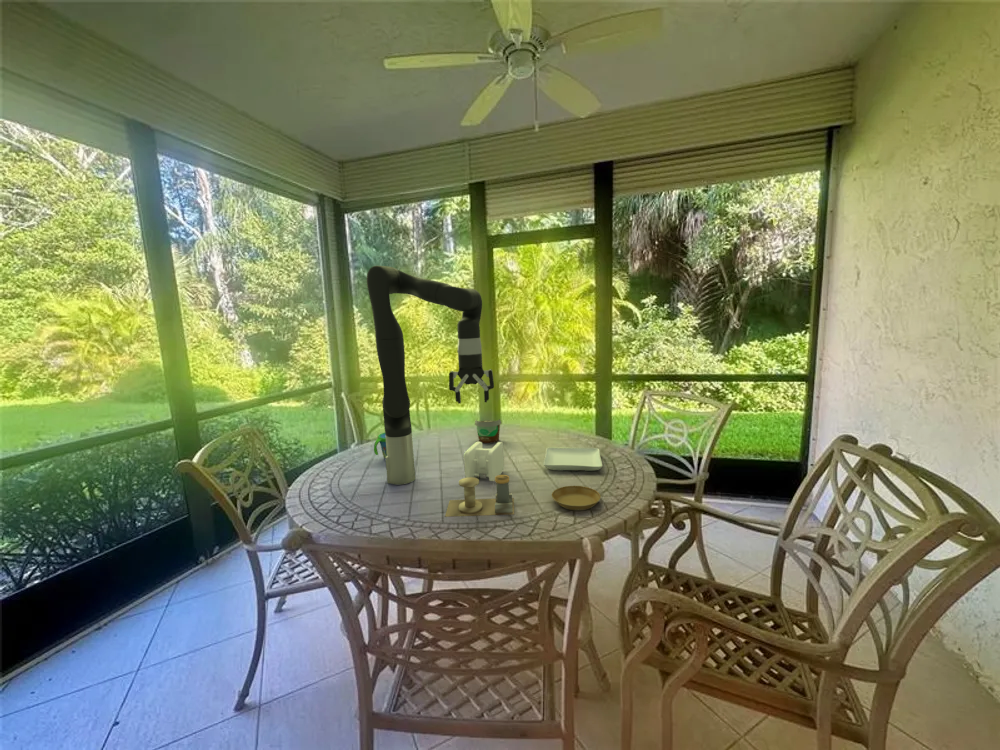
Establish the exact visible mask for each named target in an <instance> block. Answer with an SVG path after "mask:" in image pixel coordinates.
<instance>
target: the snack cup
mask: <svg viewBox="0 0 1000 750" xmlns="http://www.w3.org/2000/svg"><path fill="white" fill-rule="evenodd" d="M378 444H380V449H381V453H382V457H383V459H384V460H385V459H386V457H387V448H386V437H385V432H382V433H380V434H378V435H377V439H376V440H375V442H374V445H373V452H374V454H375V456H378V455H379V451H378Z"/></svg>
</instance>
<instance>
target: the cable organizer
mask: <svg viewBox="0 0 1000 750" xmlns="http://www.w3.org/2000/svg"><path fill="white" fill-rule="evenodd" d="M483 444H484V443H482V442H479V441H476V442H474V443H473V444H472V445H471V446H470V447H469V448H468V449H467V450H465V452H464V454H463V456H462V457H463V459H464V473H465V475H464V478H468V477H474V478H477V479H479V478H480V475H485V478H488V481H489V482H495V477H496V476H498V475H502V473H503V472H504V469H505V454H504V453H505V452H504V443H503V441H497V442H496V443H495V445H494V446H493V447H491V448H484V447H483Z"/></svg>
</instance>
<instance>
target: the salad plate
mask: <svg viewBox="0 0 1000 750" xmlns="http://www.w3.org/2000/svg"><path fill="white" fill-rule="evenodd" d="M542 465H543V467H545V468H547V469H548V470H552V471H553V470H554V471H563V470H585V471H584V472H593V471H595V472H596V471H598V470H601V468H603V462H602V458H601V451H600V448H598V447H546V448H545V456H544V459H543V464H542Z"/></svg>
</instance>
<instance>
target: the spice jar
mask: <svg viewBox="0 0 1000 750" xmlns="http://www.w3.org/2000/svg"><path fill="white" fill-rule="evenodd" d="M494 482H495V483H496V494H497V503H509V493H510V489H509V485H510V484H509V482H510V476H509V475H506V474H500V475H498V476H496V477H495V481H494Z"/></svg>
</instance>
